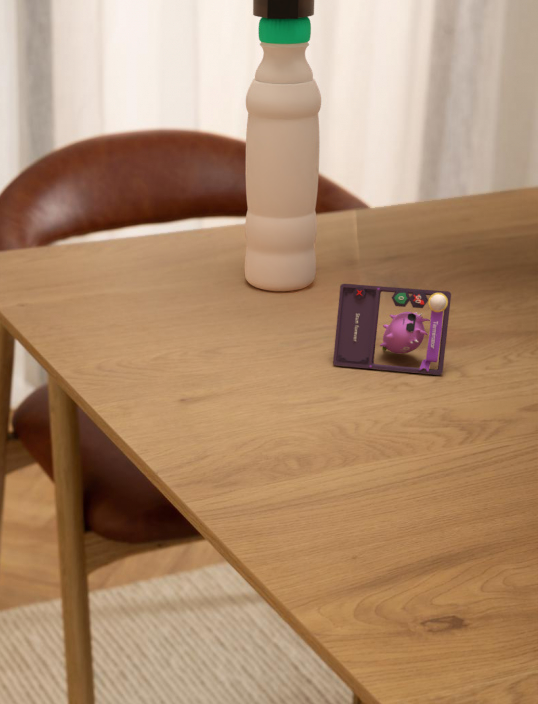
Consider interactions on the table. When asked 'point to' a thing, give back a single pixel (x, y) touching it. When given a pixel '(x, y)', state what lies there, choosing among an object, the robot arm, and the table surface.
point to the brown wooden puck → (304, 8)
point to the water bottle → (282, 160)
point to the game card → (389, 327)
